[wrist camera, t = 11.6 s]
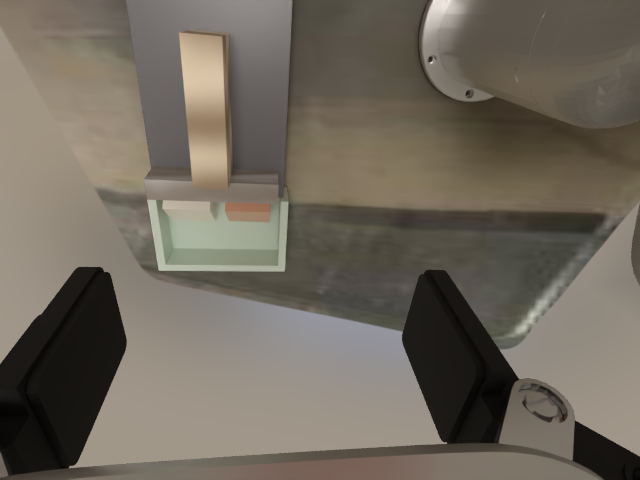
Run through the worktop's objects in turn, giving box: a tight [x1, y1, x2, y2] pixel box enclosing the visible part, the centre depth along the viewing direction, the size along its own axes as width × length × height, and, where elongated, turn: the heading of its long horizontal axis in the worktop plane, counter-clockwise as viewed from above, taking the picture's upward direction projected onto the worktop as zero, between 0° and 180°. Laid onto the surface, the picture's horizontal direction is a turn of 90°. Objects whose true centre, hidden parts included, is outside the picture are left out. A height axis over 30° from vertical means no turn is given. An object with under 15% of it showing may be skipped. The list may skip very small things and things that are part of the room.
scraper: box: [144, 30, 278, 204], centre depth 32 cm, size 14×12×5 cm
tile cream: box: [162, 200, 216, 222], centre depth 39 cm, size 4×4×2 cm
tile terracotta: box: [225, 202, 270, 222], centre depth 40 cm, size 4×4×2 cm
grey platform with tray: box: [126, 0, 292, 271], centre depth 35 cm, size 36×14×4 cm, turn 175°
